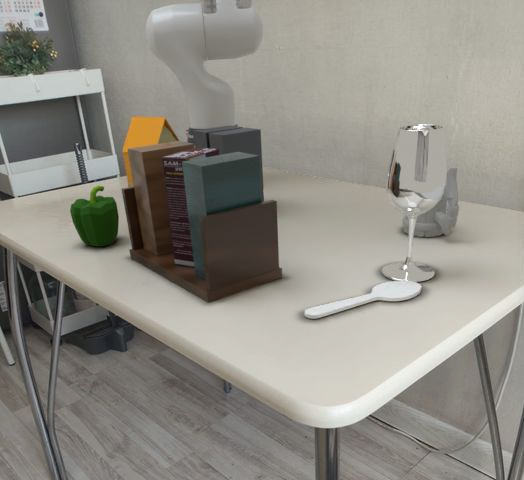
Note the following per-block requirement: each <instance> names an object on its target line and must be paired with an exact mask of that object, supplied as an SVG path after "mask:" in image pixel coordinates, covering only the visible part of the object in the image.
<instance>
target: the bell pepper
mask: <svg viewBox="0 0 524 480" xmlns="http://www.w3.org/2000/svg"><path fill="white" fill-rule="evenodd" d="M104 190H105V186H104V185H97V186H94V187H92V189H91V191H90V194H89V196H90V197H89V199H87V198H77V199H76V200H75V201H74V202H73V203H71V205H70V209H69V212H70V216H71V220H72V223H73V225H74V228H75V230H76V233H77V234H78V237H79V238H80V240H81V242H82V243H83V244H84V245H85V246H94V247H106V246H110V245H112V244H113V243H114V242H115V241H116V239H117V238H118V235H119V223H120V222H119V221H120V218H119V217H120V216H119V210H118V204H117V201H116V200H115V198H114V197H113V196H103V195H97V193H98V192H104Z"/></svg>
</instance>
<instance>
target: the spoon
mask: <svg viewBox="0 0 524 480" xmlns="http://www.w3.org/2000/svg"><path fill="white" fill-rule="evenodd" d="M421 292H422V285H421V283H420V282H413V281H405V280H404V281H399V280H398V281H395V280H392V281H385V282H381V283H379V284H376V285H374V286H373V287H372V289H371V292H370V293H366V294H363V295H357V296H355V297H350V298H349V297H348V298H346V299H342V300H338V301H332V302H330V303H329V302H328V303H326V304H324V303H323V304H321V305H316V306H315V305H314V306H312V307H309V308H306V309H304V310H303V312H304V313H303V314H304V317H306V318H308V319H312V320H313V319H314V320H315V319H320V318H323V317H326V316H330V315H333V314H337V313H340V312H343V311H345V310H349V309H352V308H355V307H358V306H362V305H365V304H368V303H372V302H375V301H383V302H384V301H385V302H400V301H406V300H411V299H413V298H415V297H416V296H418V295H420V293H421Z"/></svg>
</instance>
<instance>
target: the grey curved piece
mask: <svg viewBox="0 0 524 480" xmlns="http://www.w3.org/2000/svg"><path fill="white" fill-rule="evenodd" d="M457 172H458V167H457V166H452V167H450V168H448V169H447V179H446V187H445V192H444V194H443V196H442V198H441V200H440V201H439V202H438V203H437V205H436V206H435V207H433V208H432V209H431V210H429V211H428V212H426V213H424V214H422V215H419V216H418V217H417V220H416V224H415V229H414V237H418V238H419V237H420V238H434V237H439V236H442V235H443V234H444V235H445V236H448V235H450V234H451V233H452V231H453V229H455V227H456V226H457V221H458V216H459V211H460V205H459V189H458V181H457V175H458V174H457ZM404 215H405V216H404V217H403V219H402V220H401V222H402V225H403V232H404V234H407V235H409V219H408V216H407V215H406V214H404Z"/></svg>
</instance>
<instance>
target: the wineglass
mask: <svg viewBox="0 0 524 480" xmlns="http://www.w3.org/2000/svg"><path fill="white" fill-rule="evenodd" d="M447 166H448V164H447V149H446V139H445V131H444V126H443V125H438V124H425V123H424V124H422V123H421V124H407V125H402V126H399V127H398V130H397V134H396V137H395V142H394V144H393V148H392V153H391V157H390V161H389V164H388V170H387V175H386V195H387V198H388V200H389V201H390V203H391V204H392V206H393V207H394V208H395V209H397V210H398V212H400V213H402V214H403V215H407V216H408V219H409V234H408V238H407V248H406V257H405V260H404V261H398V262H392V263H390V264H386V265H385V266H383V267H382V269H381V274H382V276H384V277H385V278H386V279H390V280H391V281H398V280H399V281H404V280H405V281H413V282H417V283H420V282H425V281H428V280H430V279H432V278H433V277H434V276H435V274H436V273H435V270H434V269H433V268H432V267H430V266H429V265H427V264H424V263H420V262H414V260H413V249H414V248H413V247H414V238H415V236H414V229H415V224H416V220H417V217H418V216H419V215H422V214H424V213H426V212H428V211H429V210H431V209H432V208H433V207H435V206H436V205H437V203H438V202H439V201H440V200H441V198H442V196H443V194H444V192H445V187H446V179H447V172H448V167H447Z"/></svg>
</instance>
